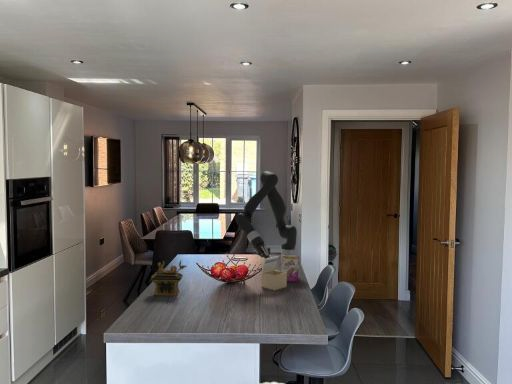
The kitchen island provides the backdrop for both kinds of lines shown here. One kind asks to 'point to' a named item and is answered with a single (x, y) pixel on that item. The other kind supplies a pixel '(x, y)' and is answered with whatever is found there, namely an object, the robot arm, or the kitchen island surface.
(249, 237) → the robot arm
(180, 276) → the decorative box
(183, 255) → the kitchen island surface
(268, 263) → the lid flap
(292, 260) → the candy bar box
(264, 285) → the carton
